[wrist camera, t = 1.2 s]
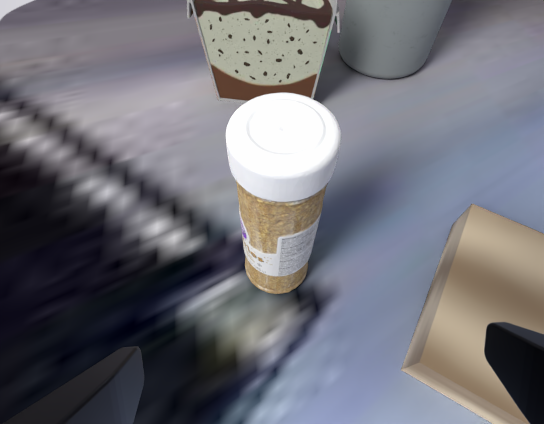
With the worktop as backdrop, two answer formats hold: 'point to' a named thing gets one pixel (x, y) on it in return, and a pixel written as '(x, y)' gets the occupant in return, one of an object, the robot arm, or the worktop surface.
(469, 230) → the oak stand
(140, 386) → the robot arm
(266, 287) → the sprinkles bottle
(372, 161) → the worktop surface
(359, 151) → the worktop surface
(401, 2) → the water bottle
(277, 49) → the food container
